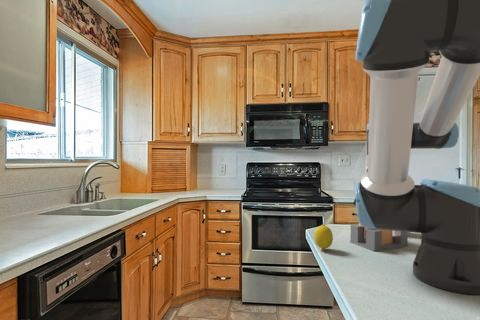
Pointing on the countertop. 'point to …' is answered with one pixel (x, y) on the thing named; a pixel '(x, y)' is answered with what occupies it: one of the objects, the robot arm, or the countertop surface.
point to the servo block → (384, 236)
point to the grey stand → (375, 238)
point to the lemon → (323, 237)
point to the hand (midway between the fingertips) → (378, 230)
